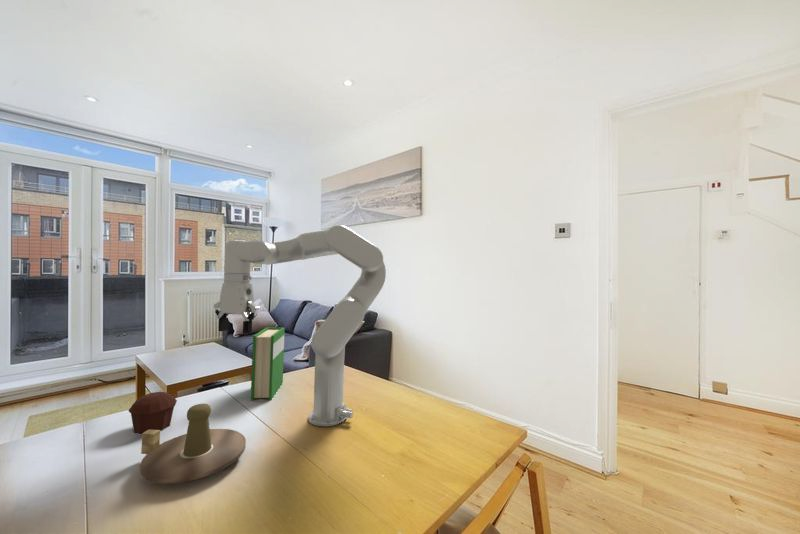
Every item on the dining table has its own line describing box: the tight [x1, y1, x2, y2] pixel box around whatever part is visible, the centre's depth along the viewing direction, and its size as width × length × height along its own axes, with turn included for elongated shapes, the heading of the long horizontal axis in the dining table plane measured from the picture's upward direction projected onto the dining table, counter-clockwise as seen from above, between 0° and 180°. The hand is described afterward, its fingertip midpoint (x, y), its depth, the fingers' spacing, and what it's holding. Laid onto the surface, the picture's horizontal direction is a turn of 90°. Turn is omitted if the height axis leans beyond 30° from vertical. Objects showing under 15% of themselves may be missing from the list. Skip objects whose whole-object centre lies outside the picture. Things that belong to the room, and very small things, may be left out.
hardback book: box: [250, 327, 286, 401], centre depth 127 cm, size 18×7×24 cm, turn 7°
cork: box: [183, 403, 212, 457], centre depth 80 cm, size 6×6×11 cm
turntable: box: [139, 428, 247, 484], centre depth 79 cm, size 23×22×5 cm
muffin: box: [128, 391, 178, 435], centre depth 96 cm, size 12×11×10 cm
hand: (235, 331), depth 103 cm, fingers open, 9 cm apart
